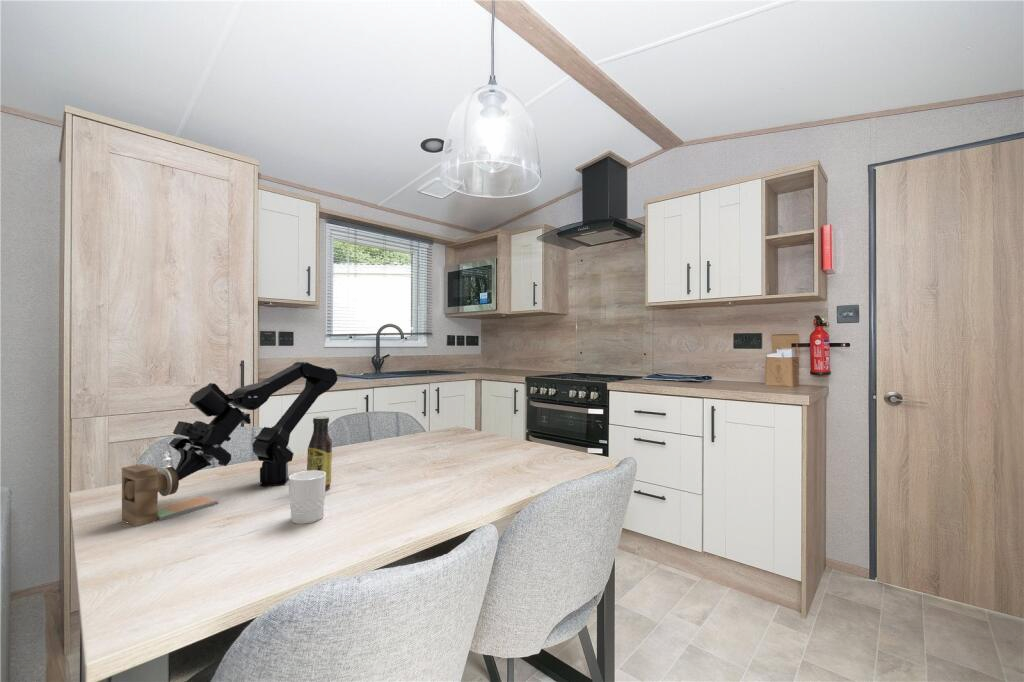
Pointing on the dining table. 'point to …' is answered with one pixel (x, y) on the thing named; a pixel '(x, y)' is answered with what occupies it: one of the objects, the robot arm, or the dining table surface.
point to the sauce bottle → (320, 449)
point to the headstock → (140, 494)
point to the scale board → (184, 507)
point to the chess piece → (166, 460)
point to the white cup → (307, 496)
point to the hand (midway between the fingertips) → (173, 481)
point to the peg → (166, 483)
